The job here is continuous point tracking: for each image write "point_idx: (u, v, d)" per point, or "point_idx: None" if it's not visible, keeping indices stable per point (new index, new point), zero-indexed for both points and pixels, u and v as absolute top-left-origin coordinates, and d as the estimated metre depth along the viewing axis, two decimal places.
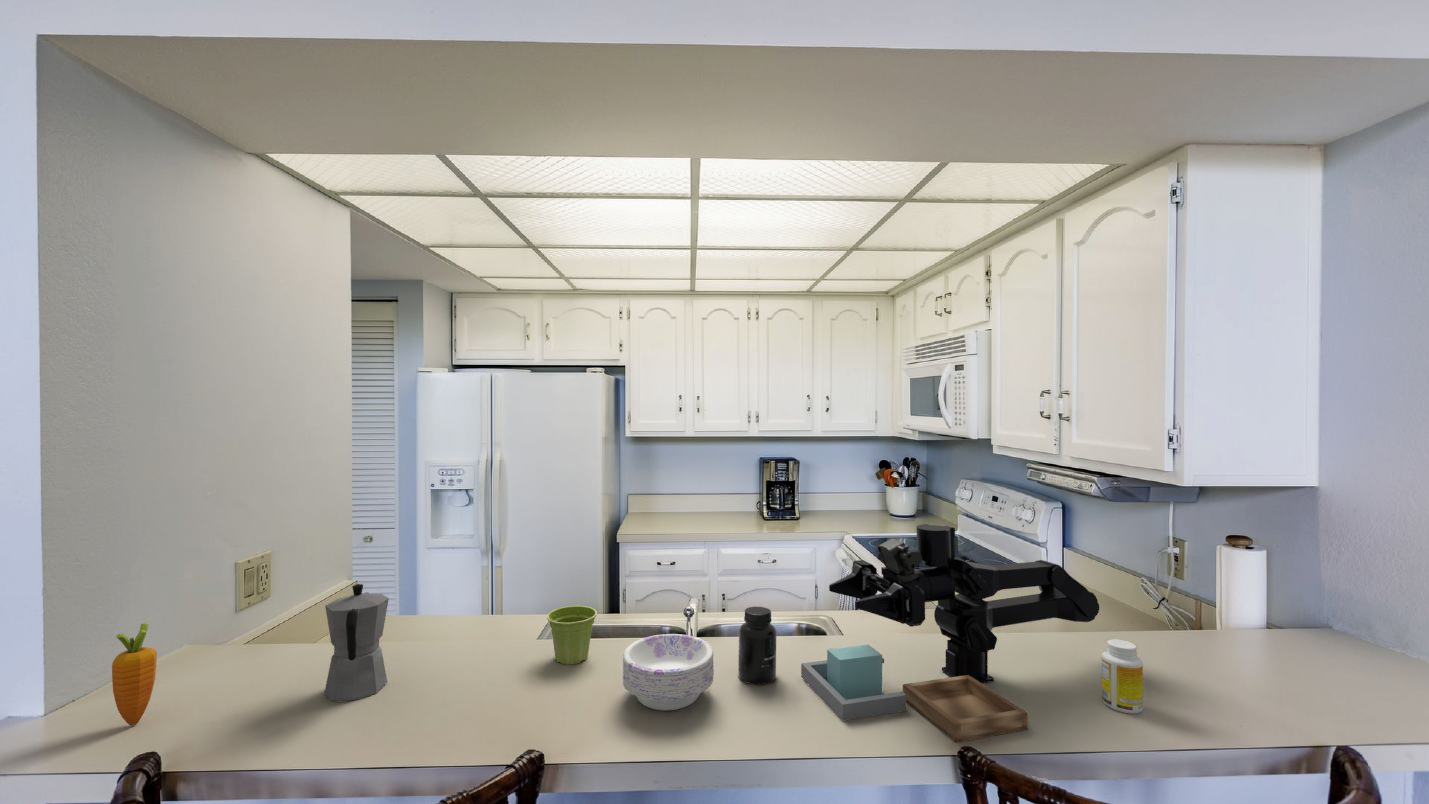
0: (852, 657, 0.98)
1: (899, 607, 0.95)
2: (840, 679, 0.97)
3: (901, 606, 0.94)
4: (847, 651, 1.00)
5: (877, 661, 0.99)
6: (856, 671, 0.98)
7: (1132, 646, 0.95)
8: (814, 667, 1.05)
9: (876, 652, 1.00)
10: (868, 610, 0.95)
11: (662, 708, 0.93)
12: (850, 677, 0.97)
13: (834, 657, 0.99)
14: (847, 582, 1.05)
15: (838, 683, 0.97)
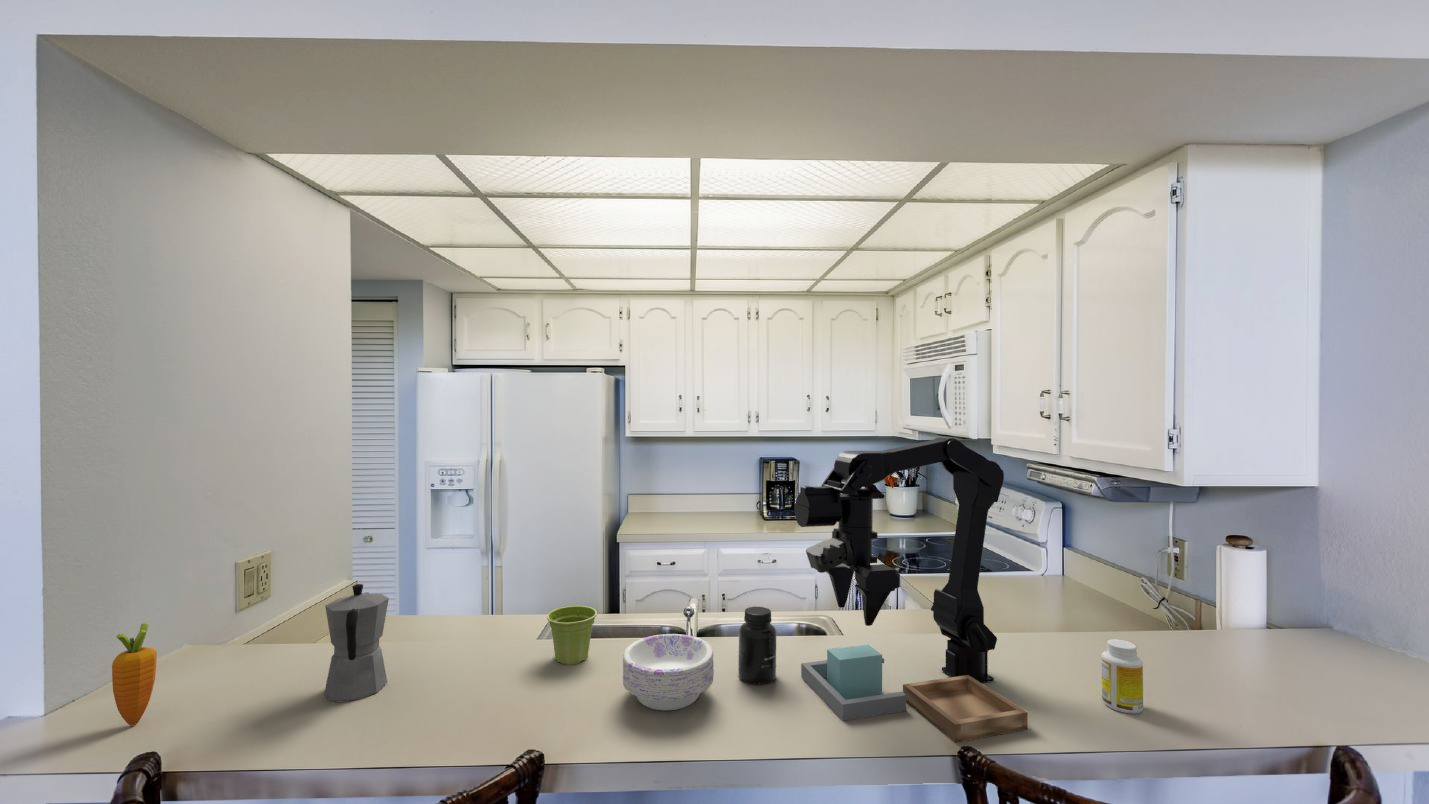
0: (852, 657, 0.98)
1: None
2: (840, 679, 0.97)
3: (879, 591, 0.93)
4: (847, 651, 1.00)
5: (877, 660, 0.99)
6: (856, 671, 0.98)
7: (1132, 646, 0.95)
8: (814, 667, 1.05)
9: (876, 652, 1.00)
10: (876, 615, 0.95)
11: (662, 708, 0.93)
12: (850, 677, 0.97)
13: (834, 657, 0.99)
14: (837, 586, 1.05)
15: (838, 683, 0.97)
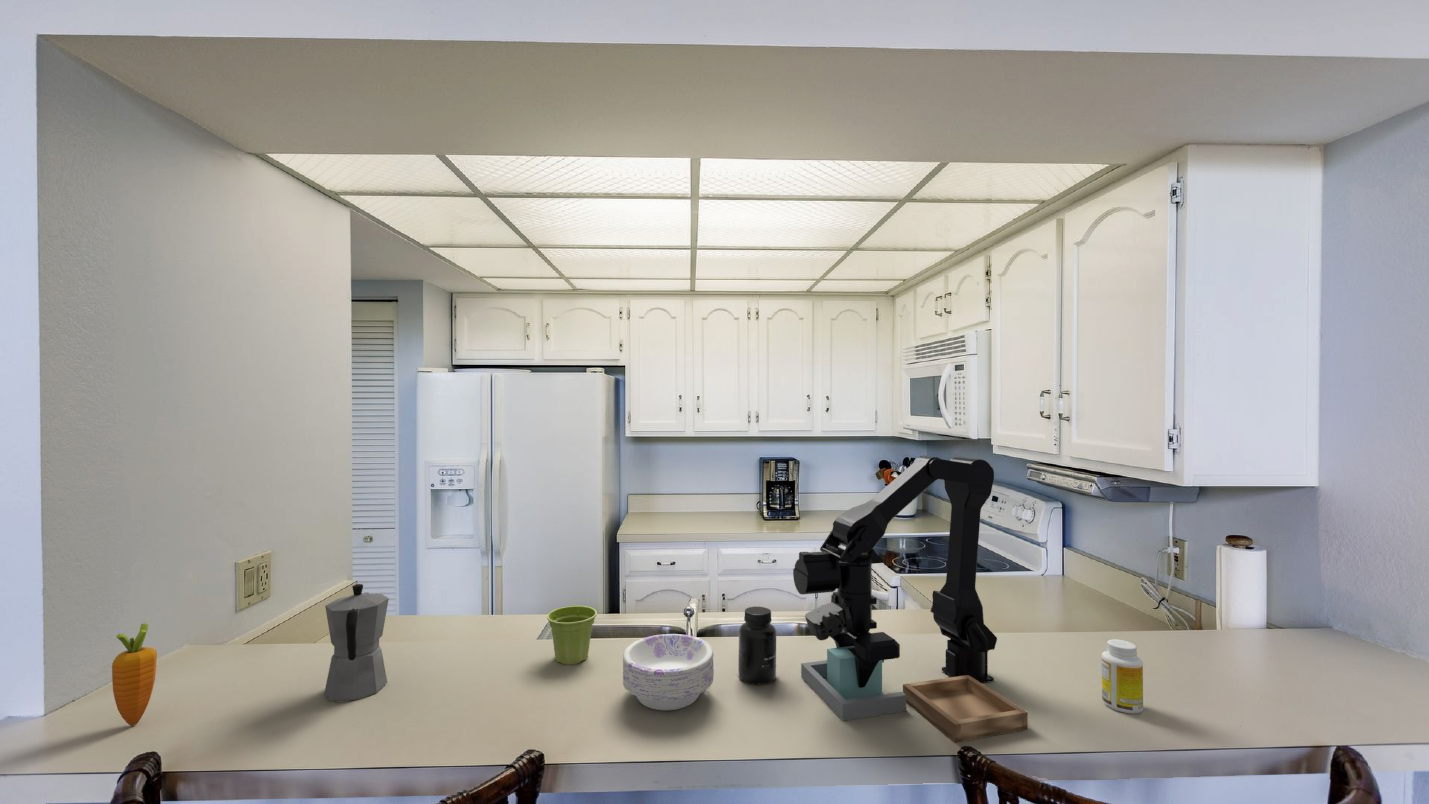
0: (852, 656, 0.98)
1: None
2: (840, 678, 0.97)
3: None
4: (847, 651, 1.00)
5: None
6: None
7: (1132, 646, 0.95)
8: (814, 667, 1.05)
9: None
10: (868, 677, 0.97)
11: (662, 708, 0.93)
12: (850, 677, 0.97)
13: (834, 656, 0.99)
14: None
15: (838, 682, 0.97)
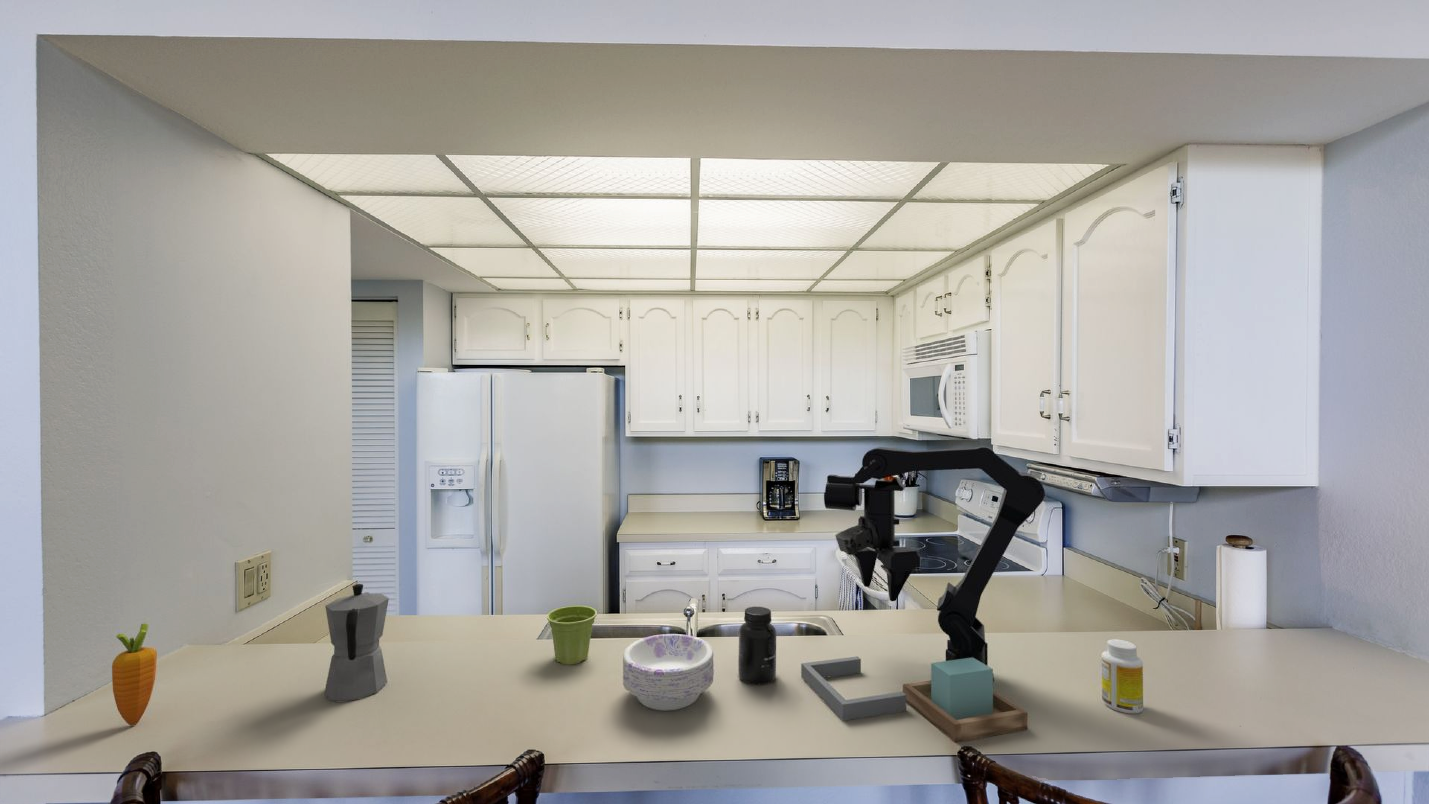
0: (962, 672, 0.91)
1: None
2: (950, 695, 0.90)
3: None
4: (954, 665, 0.93)
5: (988, 675, 0.92)
6: (967, 687, 0.91)
7: (1132, 646, 0.95)
8: (814, 667, 1.05)
9: (986, 666, 0.93)
10: (899, 591, 1.08)
11: (662, 708, 0.93)
12: (960, 694, 0.91)
13: (941, 672, 0.92)
14: (863, 568, 1.18)
15: (947, 700, 0.90)
